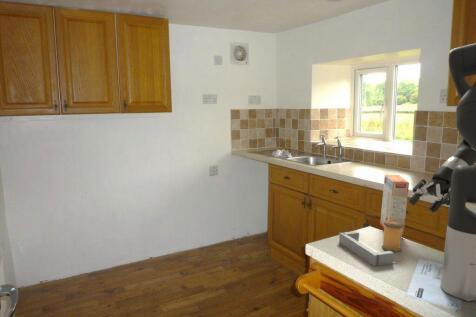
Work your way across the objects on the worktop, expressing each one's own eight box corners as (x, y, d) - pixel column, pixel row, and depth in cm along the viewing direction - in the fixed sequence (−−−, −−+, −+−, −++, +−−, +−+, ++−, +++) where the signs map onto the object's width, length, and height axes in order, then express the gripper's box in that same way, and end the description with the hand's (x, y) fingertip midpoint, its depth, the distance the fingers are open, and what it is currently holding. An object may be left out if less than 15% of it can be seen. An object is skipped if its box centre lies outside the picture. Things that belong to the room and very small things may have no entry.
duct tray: (396, 263, 105) (397, 252, 105) (373, 266, 103) (374, 255, 102) (358, 240, 123) (359, 230, 122) (339, 242, 120) (339, 232, 120)
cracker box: (404, 237, 126) (410, 182, 123) (387, 236, 127) (392, 181, 124) (395, 224, 140) (400, 174, 136) (379, 223, 141) (384, 173, 138)
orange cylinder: (404, 251, 114) (407, 225, 112) (389, 253, 112) (392, 227, 111) (392, 244, 119) (394, 220, 118) (377, 246, 118) (379, 221, 116)
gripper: (428, 162, 123) (399, 194, 122) (464, 169, 110) (432, 206, 109) (438, 175, 126) (410, 208, 124) (475, 184, 112) (443, 220, 111)
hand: (420, 207), depth 116 cm, fingers open, 8 cm apart
